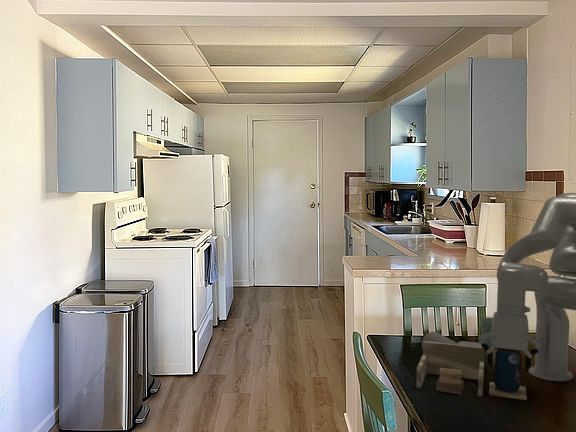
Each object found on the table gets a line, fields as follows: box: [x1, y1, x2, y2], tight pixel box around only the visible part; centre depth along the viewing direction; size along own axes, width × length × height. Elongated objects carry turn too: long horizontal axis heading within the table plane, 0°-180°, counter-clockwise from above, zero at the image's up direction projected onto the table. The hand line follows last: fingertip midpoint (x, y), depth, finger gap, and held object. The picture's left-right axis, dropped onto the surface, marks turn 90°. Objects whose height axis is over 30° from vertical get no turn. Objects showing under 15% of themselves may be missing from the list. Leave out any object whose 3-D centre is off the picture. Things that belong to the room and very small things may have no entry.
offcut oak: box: [439, 368, 462, 384], centre depth 169 cm, size 4×6×3 cm, turn 75°
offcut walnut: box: [435, 376, 465, 395], centre depth 170 cm, size 4×7×3 cm, turn 64°
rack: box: [415, 341, 486, 398], centre depth 175 cm, size 16×18×10 cm
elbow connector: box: [420, 331, 482, 350], centre depth 196 cm, size 18×11×20 cm
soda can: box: [493, 348, 522, 393], centre depth 169 cm, size 7×7×12 cm
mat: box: [488, 381, 528, 401], centre depth 169 cm, size 10×10×1 cm
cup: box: [480, 316, 493, 346], centre depth 217 cm, size 8×8×10 cm
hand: (508, 368), depth 169 cm, fingers open, 9 cm apart
